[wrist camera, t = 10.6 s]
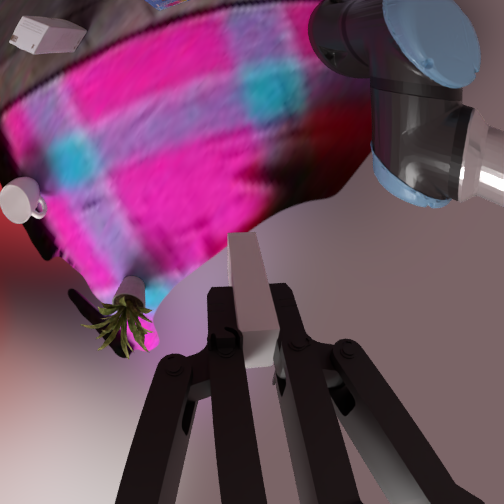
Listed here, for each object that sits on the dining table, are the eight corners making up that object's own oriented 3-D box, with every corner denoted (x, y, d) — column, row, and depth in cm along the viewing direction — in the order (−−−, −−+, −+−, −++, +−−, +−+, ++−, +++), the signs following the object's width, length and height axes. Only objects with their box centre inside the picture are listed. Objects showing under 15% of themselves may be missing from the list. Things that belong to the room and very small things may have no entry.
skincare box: (88, 30, 28) (52, 23, 18) (74, 53, 30) (34, 55, 20) (63, 18, 25) (23, 12, 15) (49, 41, 27) (7, 43, 17)
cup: (23, 162, 38) (4, 176, 33) (61, 188, 43) (45, 206, 38) (13, 193, 41) (-5, 210, 35) (48, 218, 46) (33, 237, 40)
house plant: (95, 296, 59) (77, 354, 46) (100, 251, 52) (76, 312, 39) (152, 313, 64) (145, 372, 51) (166, 271, 57) (158, 335, 44)
